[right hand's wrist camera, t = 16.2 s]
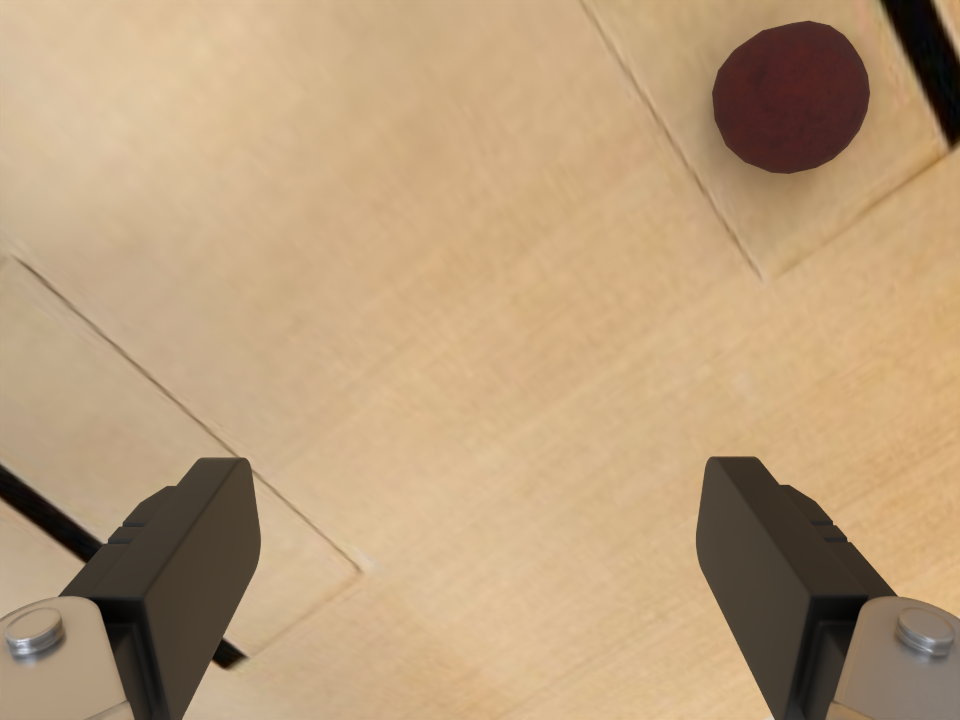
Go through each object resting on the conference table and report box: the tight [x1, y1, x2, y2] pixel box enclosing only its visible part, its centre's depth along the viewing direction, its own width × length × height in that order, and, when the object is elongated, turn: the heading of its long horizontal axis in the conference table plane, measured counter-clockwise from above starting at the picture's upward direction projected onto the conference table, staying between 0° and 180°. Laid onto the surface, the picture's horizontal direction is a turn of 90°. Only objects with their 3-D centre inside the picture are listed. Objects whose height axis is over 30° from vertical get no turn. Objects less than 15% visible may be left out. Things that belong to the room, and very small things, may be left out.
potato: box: [712, 21, 870, 174], centre depth 34 cm, size 7×8×7 cm
